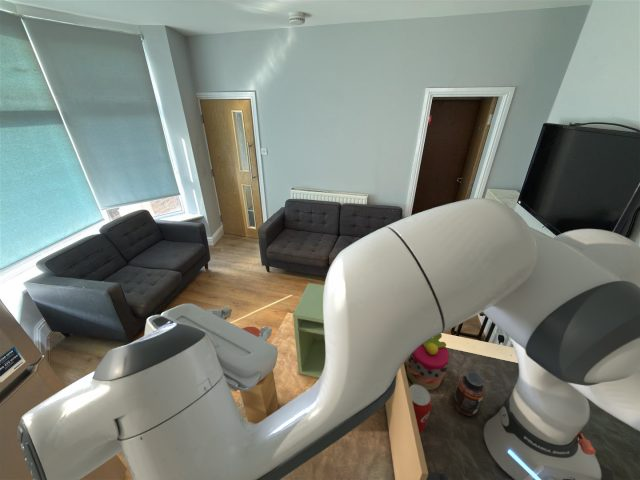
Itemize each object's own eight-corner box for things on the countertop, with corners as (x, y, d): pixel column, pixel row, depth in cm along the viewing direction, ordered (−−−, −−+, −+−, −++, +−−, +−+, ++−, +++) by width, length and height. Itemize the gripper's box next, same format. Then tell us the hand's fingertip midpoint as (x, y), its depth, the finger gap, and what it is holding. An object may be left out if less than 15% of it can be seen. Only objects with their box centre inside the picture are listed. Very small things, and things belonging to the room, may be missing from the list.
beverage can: (426, 438, 64) (435, 410, 59) (400, 433, 66) (406, 405, 60) (423, 412, 70) (430, 384, 64) (398, 407, 71) (404, 379, 65)
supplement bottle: (481, 416, 69) (493, 390, 63) (458, 416, 69) (468, 390, 63) (470, 394, 74) (480, 368, 69) (448, 394, 74) (457, 368, 69)
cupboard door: (407, 397, 73) (420, 336, 62) (435, 535, 50) (465, 477, 39) (384, 396, 74) (393, 335, 63) (402, 531, 51) (421, 473, 39)
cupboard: (386, 393, 74) (395, 332, 63) (298, 373, 81) (292, 314, 69) (387, 353, 86) (396, 295, 75) (311, 338, 93) (308, 282, 81)
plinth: (279, 407, 72) (272, 364, 63) (270, 431, 67) (261, 387, 58) (259, 402, 73) (249, 359, 65) (248, 424, 68) (237, 381, 60)
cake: (448, 391, 75) (460, 355, 68) (410, 390, 75) (419, 355, 68) (434, 359, 84) (444, 325, 77) (401, 359, 84) (408, 325, 77)
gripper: (247, 376, 33) (298, 328, 45) (140, 313, 40) (210, 287, 52) (240, 416, 34) (291, 359, 47) (137, 348, 41) (206, 314, 54)
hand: (247, 320), depth 50 cm, fingers open, 8 cm apart
